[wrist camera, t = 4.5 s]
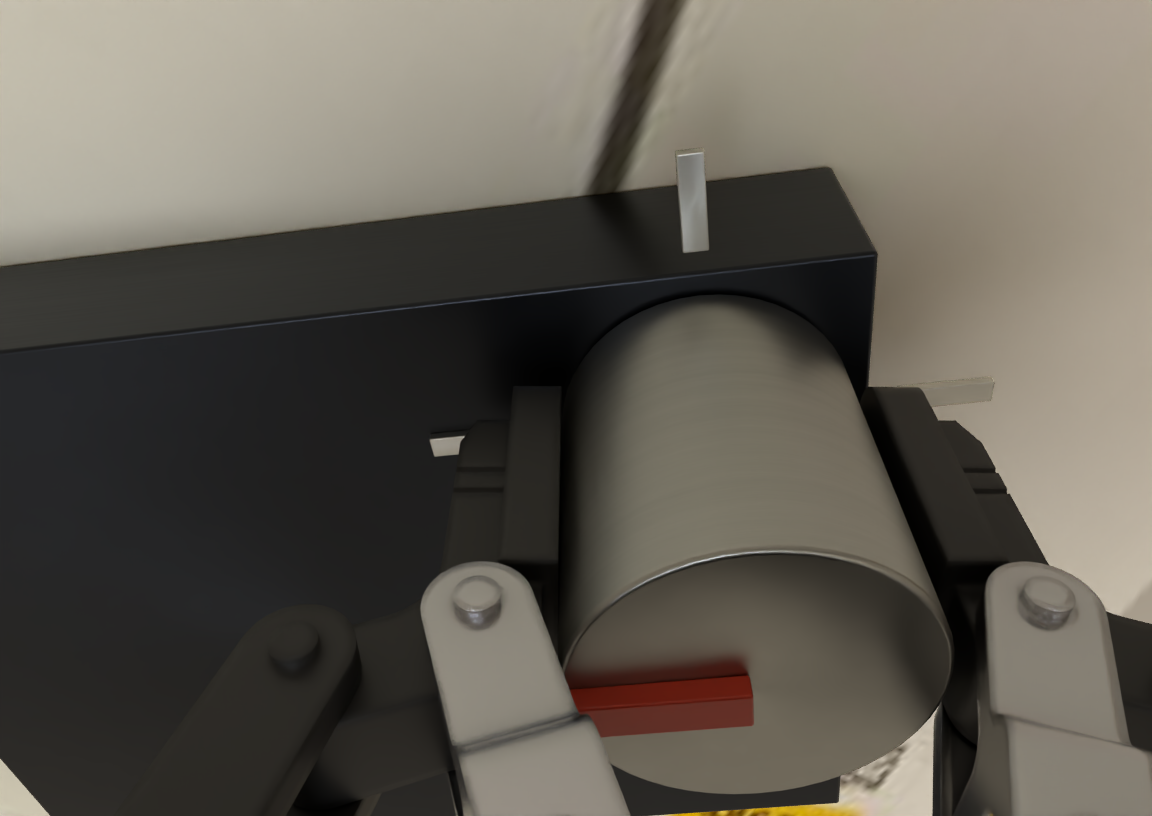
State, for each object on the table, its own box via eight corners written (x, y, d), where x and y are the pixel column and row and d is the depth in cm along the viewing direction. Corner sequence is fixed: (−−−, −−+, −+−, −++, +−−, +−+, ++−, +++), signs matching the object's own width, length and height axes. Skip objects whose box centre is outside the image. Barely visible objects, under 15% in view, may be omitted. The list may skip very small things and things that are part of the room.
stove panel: (957, 36, 14) (1042, 109, 11) (885, 686, 23) (922, 805, 21) (-262, 196, 16) (-425, 291, 13) (130, 745, 25) (80, 862, 22)
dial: (856, 275, 13) (993, 552, 9) (844, 507, 16) (943, 806, 11) (542, 310, 13) (526, 593, 9) (581, 531, 16) (583, 830, 12)
